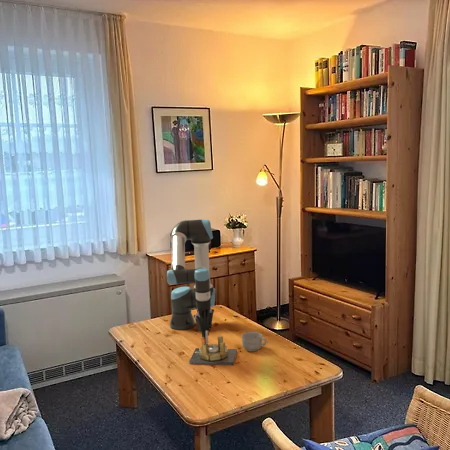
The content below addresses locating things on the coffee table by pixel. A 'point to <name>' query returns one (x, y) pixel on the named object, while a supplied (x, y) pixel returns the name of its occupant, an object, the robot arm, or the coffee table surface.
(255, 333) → the teacup
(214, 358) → the ring nut
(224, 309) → the coffee table surface
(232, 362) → the housing
